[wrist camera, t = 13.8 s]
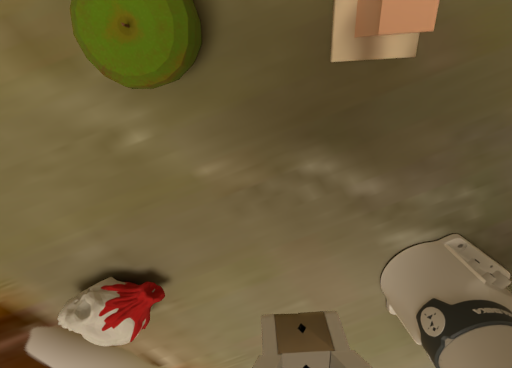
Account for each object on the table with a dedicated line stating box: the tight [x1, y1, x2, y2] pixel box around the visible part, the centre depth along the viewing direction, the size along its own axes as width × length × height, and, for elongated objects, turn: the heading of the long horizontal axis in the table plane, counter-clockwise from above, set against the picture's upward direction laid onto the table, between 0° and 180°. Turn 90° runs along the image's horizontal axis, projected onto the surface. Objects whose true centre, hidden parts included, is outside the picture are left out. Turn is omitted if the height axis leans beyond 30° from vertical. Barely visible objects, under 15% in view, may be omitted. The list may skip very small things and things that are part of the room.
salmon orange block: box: [354, 0, 439, 38], centre depth 28 cm, size 5×5×7 cm
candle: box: [57, 277, 165, 346], centre depth 45 cm, size 9×11×15 cm
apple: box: [70, 0, 202, 89], centre depth 27 cm, size 11×11×11 cm
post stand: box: [330, 0, 419, 62], centre depth 29 cm, size 10×10×6 cm
